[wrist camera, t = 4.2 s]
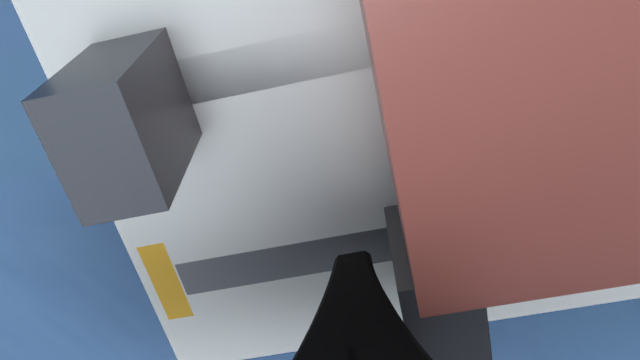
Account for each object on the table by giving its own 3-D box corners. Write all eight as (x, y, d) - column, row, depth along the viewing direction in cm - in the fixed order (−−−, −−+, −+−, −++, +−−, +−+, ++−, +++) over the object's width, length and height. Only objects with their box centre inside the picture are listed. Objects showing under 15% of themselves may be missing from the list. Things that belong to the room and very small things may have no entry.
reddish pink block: (662, -180, 10) (918, -202, 6) (646, 117, 13) (812, 256, 8) (340, -102, 11) (349, -70, 6) (389, 165, 13) (420, 317, 9)
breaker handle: (453, 195, 14) (484, 278, 11) (463, 276, 15) (493, 369, 12) (383, 207, 14) (397, 291, 11) (399, 286, 15) (414, 381, 12)
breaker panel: (966, -274, 10) (1342, -348, 7) (839, 233, 16) (1008, 358, 12) (23, -44, 12) (-112, 5, 9) (190, 338, 18) (153, 474, 14)
